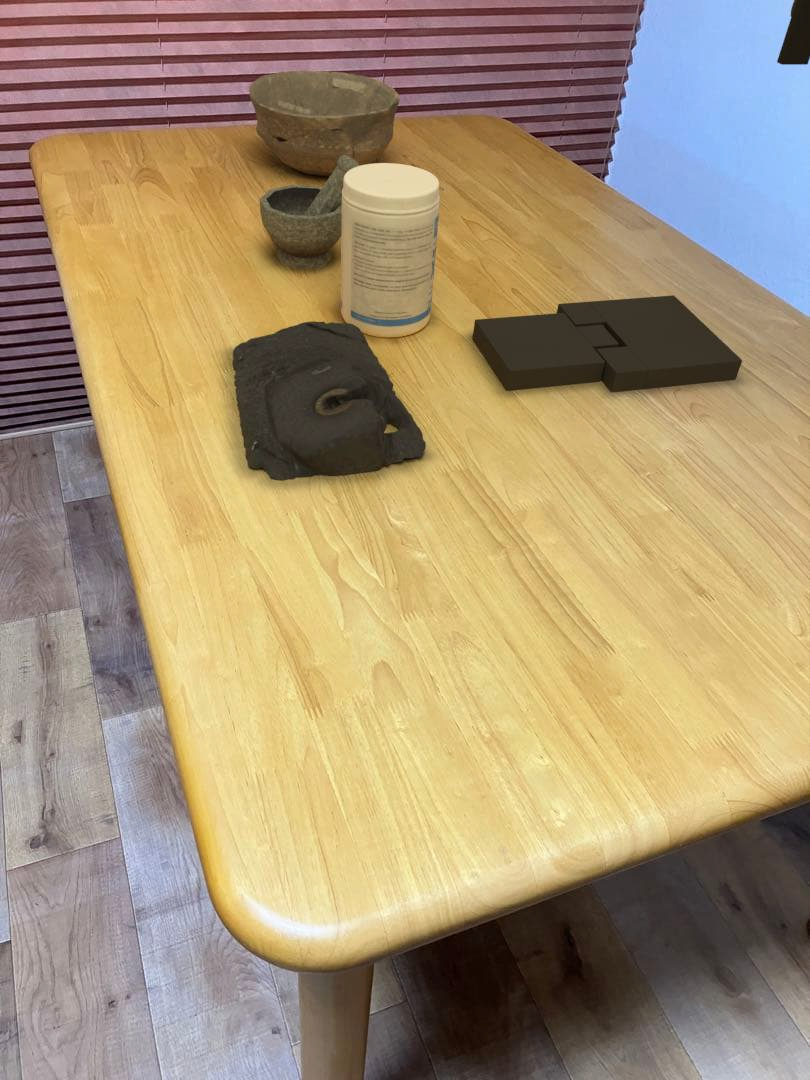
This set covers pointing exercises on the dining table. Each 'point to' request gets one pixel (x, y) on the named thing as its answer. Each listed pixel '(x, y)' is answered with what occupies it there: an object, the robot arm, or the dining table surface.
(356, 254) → the supplement tub
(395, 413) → the dark slate chunk
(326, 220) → the mortar and pestle
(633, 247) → the dining table surface
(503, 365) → the small pad
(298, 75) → the bowl
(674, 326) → the base pad
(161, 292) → the dining table surface
